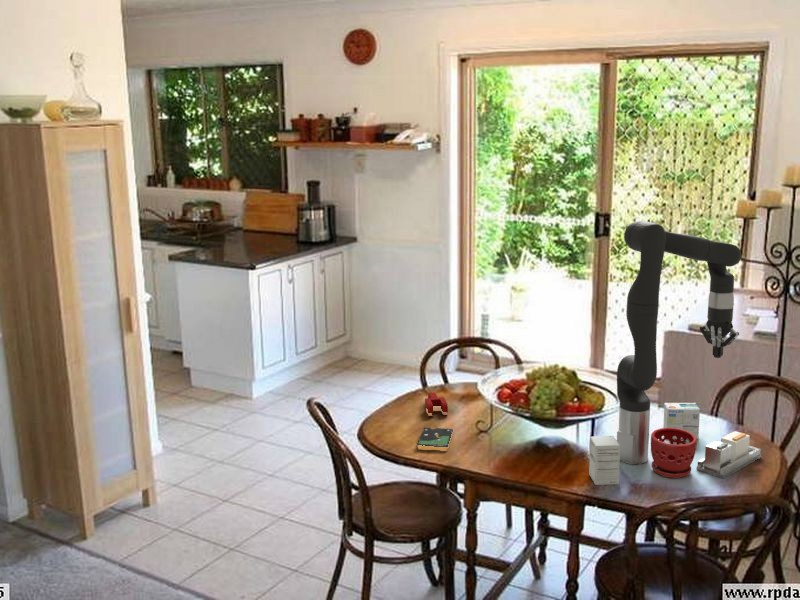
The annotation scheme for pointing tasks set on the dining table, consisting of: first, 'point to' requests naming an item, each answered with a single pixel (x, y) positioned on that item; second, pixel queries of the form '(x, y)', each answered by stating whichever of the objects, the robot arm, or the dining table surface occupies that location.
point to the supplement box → (604, 460)
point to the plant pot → (672, 452)
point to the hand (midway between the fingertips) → (717, 357)
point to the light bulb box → (682, 417)
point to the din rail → (724, 459)
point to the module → (737, 444)
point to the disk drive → (435, 437)
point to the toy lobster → (435, 402)
